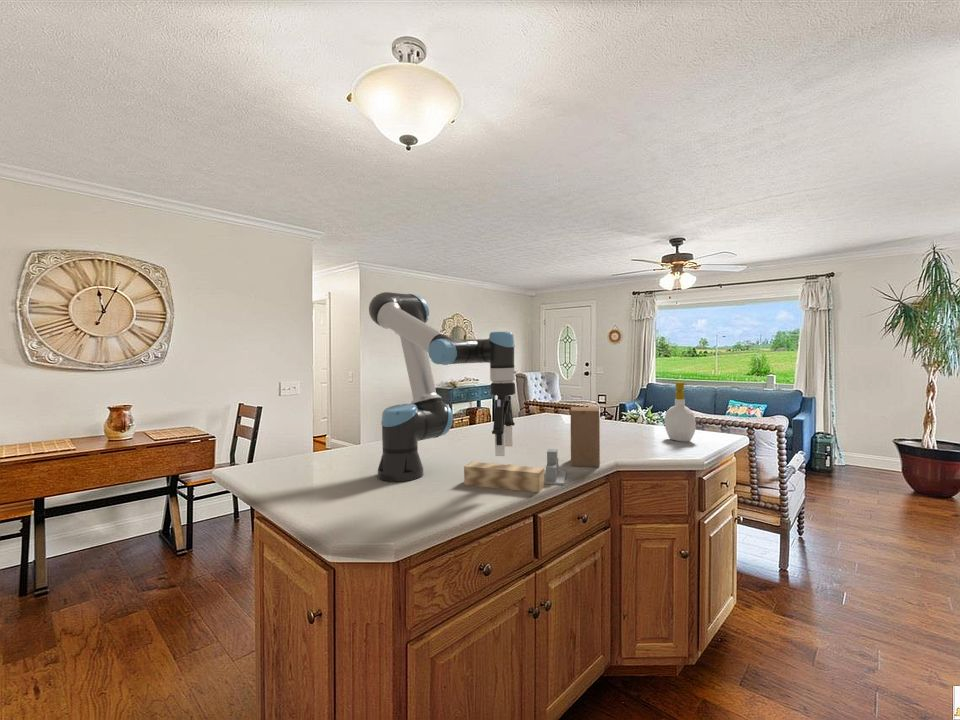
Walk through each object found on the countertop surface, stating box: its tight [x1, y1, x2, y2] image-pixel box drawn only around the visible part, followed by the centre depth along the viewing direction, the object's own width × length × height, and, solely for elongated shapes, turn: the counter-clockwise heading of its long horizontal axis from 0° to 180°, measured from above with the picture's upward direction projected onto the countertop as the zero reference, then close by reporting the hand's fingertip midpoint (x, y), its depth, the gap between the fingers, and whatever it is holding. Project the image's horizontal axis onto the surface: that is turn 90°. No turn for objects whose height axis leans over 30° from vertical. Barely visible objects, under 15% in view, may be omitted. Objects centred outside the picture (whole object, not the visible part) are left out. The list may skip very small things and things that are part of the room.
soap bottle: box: [664, 381, 697, 443], centre depth 204 cm, size 14×9×26 cm, turn 32°
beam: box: [463, 461, 545, 493], centre depth 141 cm, size 24×6×6 cm, turn 69°
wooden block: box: [570, 406, 601, 468], centre depth 167 cm, size 10×10×20 cm
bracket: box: [544, 448, 567, 486], centre depth 149 cm, size 8×14×9 cm, turn 166°
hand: (504, 450), depth 141 cm, fingers open, 13 cm apart
